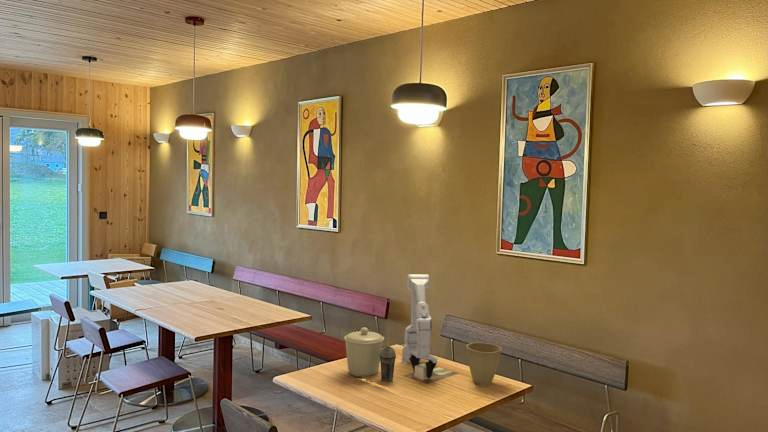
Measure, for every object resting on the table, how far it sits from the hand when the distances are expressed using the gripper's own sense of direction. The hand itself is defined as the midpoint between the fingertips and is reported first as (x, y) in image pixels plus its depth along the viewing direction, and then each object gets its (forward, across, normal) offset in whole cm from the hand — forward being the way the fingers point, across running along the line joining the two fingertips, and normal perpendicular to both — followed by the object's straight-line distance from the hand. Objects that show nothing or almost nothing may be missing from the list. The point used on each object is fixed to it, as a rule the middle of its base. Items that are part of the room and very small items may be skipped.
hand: (422, 375), depth 244 cm
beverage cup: (+2, -8, -14) cm, 16 cm away
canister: (+2, -23, -14) cm, 27 cm away
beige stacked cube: (+1, 0, 0) cm, 1 cm away
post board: (+2, 0, +6) cm, 6 cm away
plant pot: (+2, +20, +17) cm, 26 cm away
